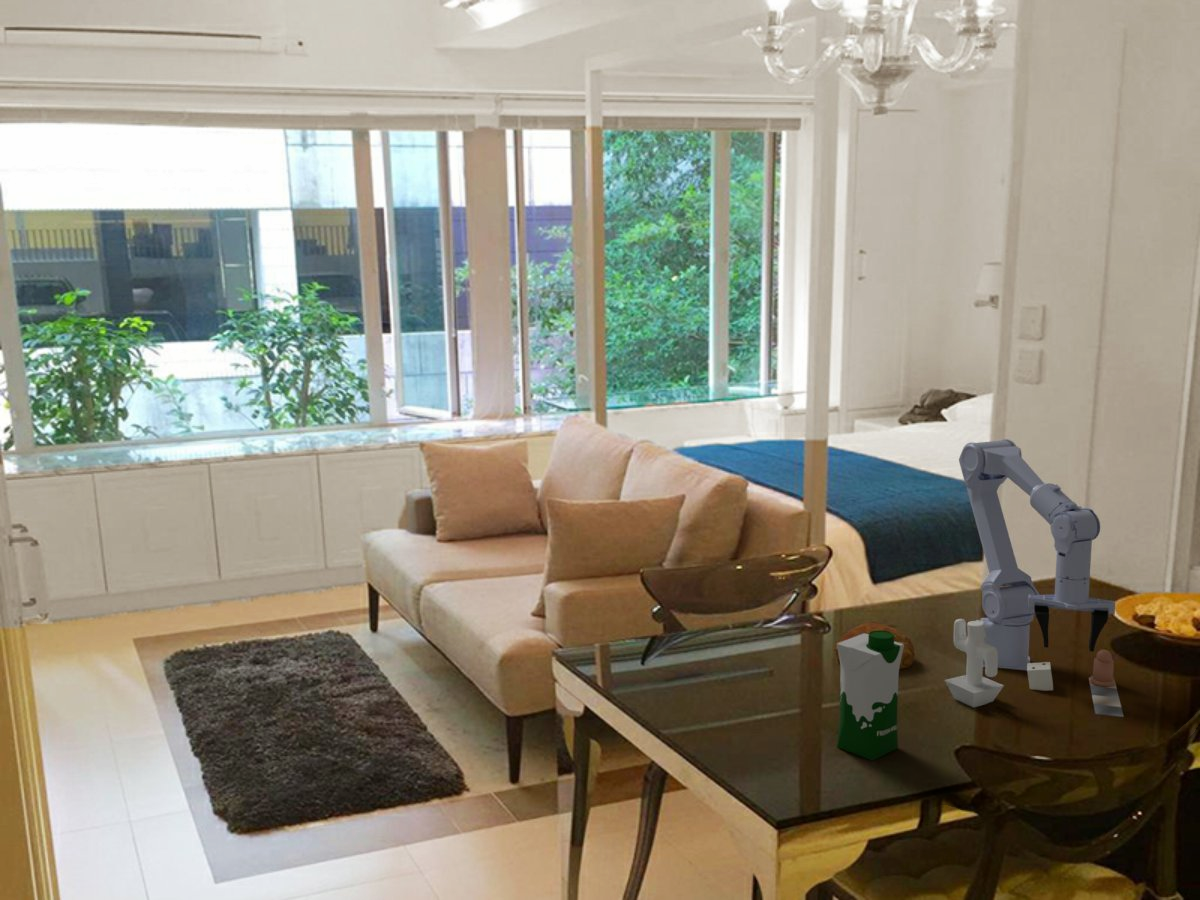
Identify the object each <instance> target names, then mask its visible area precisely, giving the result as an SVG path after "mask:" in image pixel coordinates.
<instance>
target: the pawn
mask: <svg viewBox="0 0 1200 900" xmlns="http://www.w3.org/2000/svg"><path fill="white" fill-rule="evenodd" d="M1112 658H1113V656H1112V653H1111V652H1110V651H1109V650H1108V649H1100V650H1099V651H1098V652H1097V653H1096V657H1095V658H1093V666H1092V667H1093V668H1092V670H1093V671H1092V675H1091V676H1090V677H1089V678H1090V682H1091V683H1092V684H1093V685H1096V686H1100V687H1113V686H1114V685H1115V683H1116V679H1115V677H1114V668H1115V660H1113V659H1112ZM1090 682H1089V683H1090Z"/></svg>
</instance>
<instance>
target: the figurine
mask: <svg viewBox="0 0 1200 900" xmlns="http://www.w3.org/2000/svg"><path fill="white" fill-rule="evenodd" d="M984 638H986V634H985V623H984V622H983V621H981V619H975V620H971V621H968V622H966V620H965V619H964V618H957V619H956V620H955V621H954V623H953V645H954V647H955V648H956V649H957V650H959V651H961V652H964V653H965V654H966V667H965V668H966V671H965V672H966V673H965V674H963V675H959V676H956V677H951V678H948V679H944V682H945V684H946V686H947V688H948V690H949V691H950V693H951V695H952V697H953V699H954V700H956V701H959V702H960V703H963V704H965V705H967V706H969V707H971V708H977V707H981V706H983V705H987V704H989V703H992V702H994V701H995V699H996V698H997V696H998V695H999V693H1000V692H1001V690H1003V688H1004V686H1005V685H1004V684H1002V683H999V682H997V681H994V680H992V679H989V678H994V677H996V676H997V675H998V652H997V649H996V648H995V647H993V646H991V645H988V644H985V643H984ZM983 659H984V661H985V667H983ZM984 668H985V669H984ZM983 671H984V674H985V676H986V677H985V676H984V675H983ZM987 677H988V678H987Z"/></svg>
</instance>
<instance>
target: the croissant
mask: <svg viewBox="0 0 1200 900" xmlns="http://www.w3.org/2000/svg"><path fill="white" fill-rule="evenodd" d="M877 630H881V631H888V632H891V633H893V634H894V641H895V642H898V643H901V644H904V648H903V652H902V657H901V662H900V667H899V670H901V669H902V670H903V669H906V668H909V667H911V665H913V662H914V661H915V647H914V644H913V643H912V641H911V639H910V638H909V637H907V635H905V634H903V633H902V632H901V631H899V629H898V630H897V629H896V628H894V627H891V626H888V625H885V624H881V623H877V622H873V621H868V622H863V623H861V624H859V625H857V626H856V627H855V626H854V627H853V628H852V629H850V630H848V631H847V632H846V633H845V634H843V635H842V636H841V637H840V639H839V641H838V642H837V643H840V642H842V641H845V640H848V639H850V638H853V637H856V636H858V635H861V634H864V633H865V634H869V633H870V632H871V631H877ZM837 643H836V644H835V645H834V648H832V650H833V651H834V652H835V653H834V655H835V656H836V658H837V660H839V661H840V658H839V653H838V648H837Z"/></svg>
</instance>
